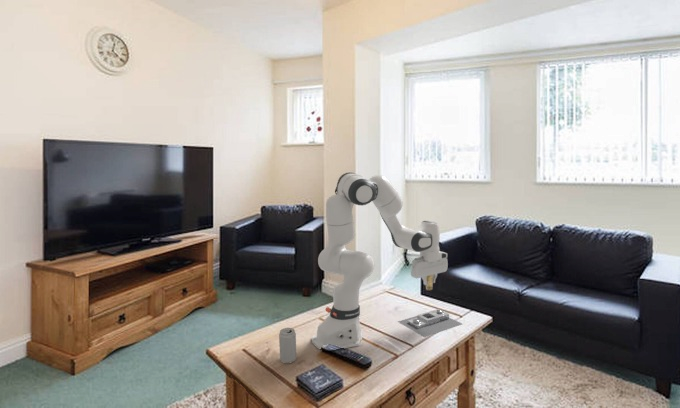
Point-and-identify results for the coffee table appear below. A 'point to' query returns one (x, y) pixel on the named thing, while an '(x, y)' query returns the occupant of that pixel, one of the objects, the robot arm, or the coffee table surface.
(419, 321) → the slotted latch plate
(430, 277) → the brass pin
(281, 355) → the beverage can
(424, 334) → the gray base plate
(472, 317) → the coffee table surface
